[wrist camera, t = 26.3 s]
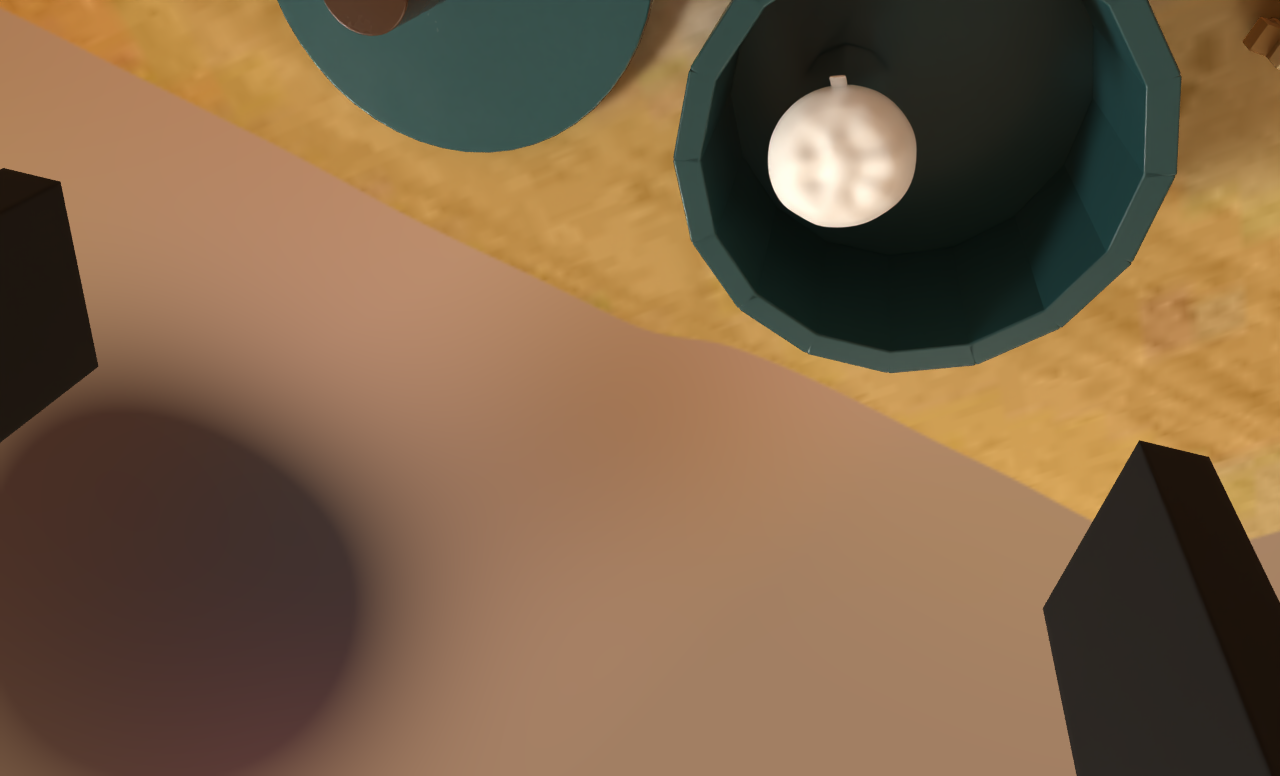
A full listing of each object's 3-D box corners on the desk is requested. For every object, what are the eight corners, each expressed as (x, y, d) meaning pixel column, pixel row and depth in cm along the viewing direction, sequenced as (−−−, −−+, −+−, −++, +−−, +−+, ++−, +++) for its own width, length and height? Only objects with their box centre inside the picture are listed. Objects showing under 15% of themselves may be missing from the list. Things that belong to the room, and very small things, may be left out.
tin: (759, -167, 33) (728, -148, 26) (1194, -82, 32) (1284, -39, 25) (682, 223, 41) (644, 316, 34) (1025, 301, 40) (1057, 414, 33)
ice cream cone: (911, -3, 34) (922, 69, 26) (906, 143, 37) (915, 250, 29) (783, 7, 35) (756, 80, 27) (788, 149, 38) (765, 254, 30)
